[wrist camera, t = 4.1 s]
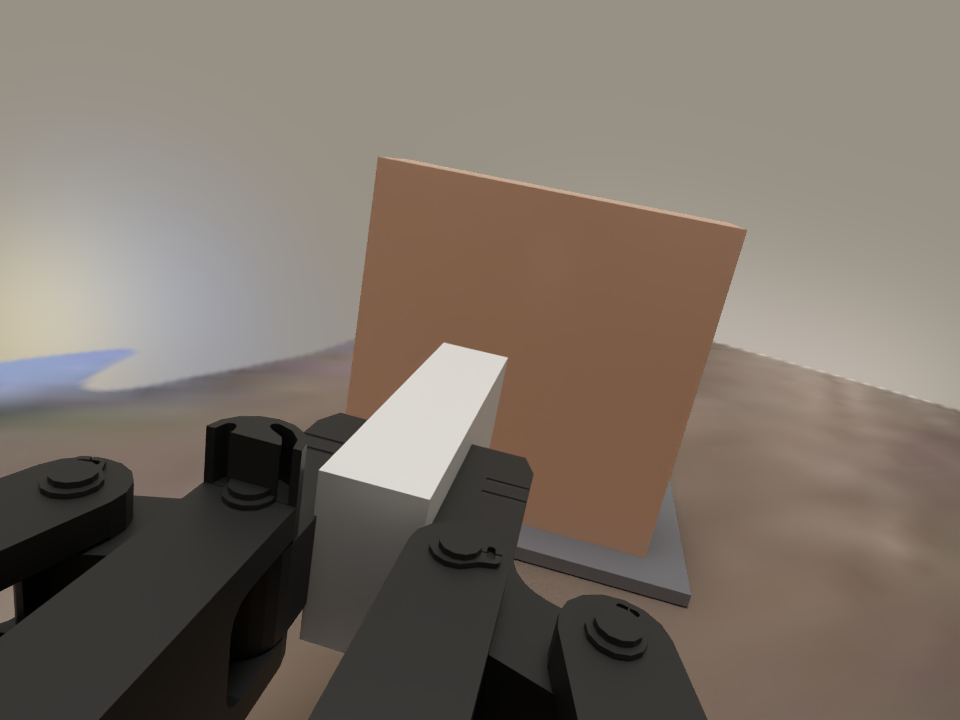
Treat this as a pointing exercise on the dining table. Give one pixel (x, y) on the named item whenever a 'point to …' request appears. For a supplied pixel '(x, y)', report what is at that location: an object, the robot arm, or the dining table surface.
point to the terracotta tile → (550, 329)
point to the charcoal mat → (617, 558)
